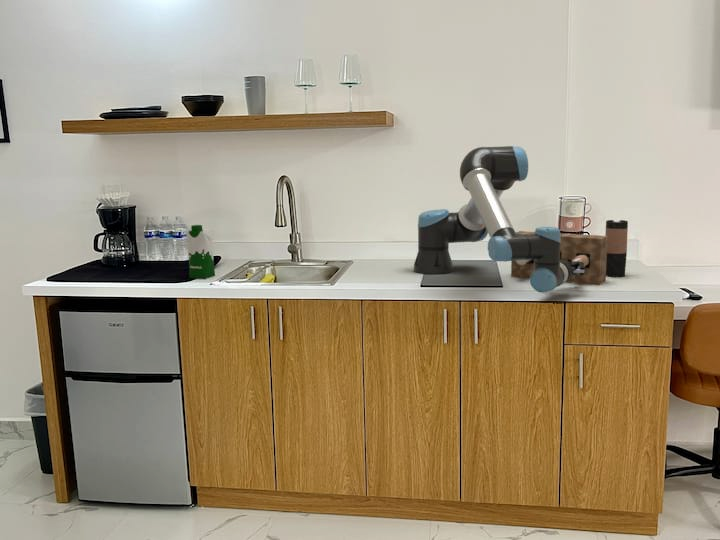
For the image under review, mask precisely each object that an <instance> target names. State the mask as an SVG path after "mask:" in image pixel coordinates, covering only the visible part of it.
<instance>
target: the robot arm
mask: <svg viewBox="0 0 720 540" xmlns="http://www.w3.org/2000/svg"><path fill="white" fill-rule="evenodd" d="M528 158H529V157H528V154H527V153H526V150H525V149H524V148H523V147H521V146H515V145H509V146H508V145H507V146H479V147H476V148H473V149H472V150H470V151H469V152H468V153H467V154H466V155H465V156H464V158H463V159H462V162H461V163H460V167H459V178H460V182H461V184H462V186H463V188H464V189H465V191H468V193H469V194H470V196H471V197H470V199H469V201H468V203H467V204H464V205H462V207H460V208H459V210H458V212H457V211H456V212H450V211H449V210H448V209H446V208H441V209H431V210H427V211H424V212H422V213H420V214H419V215H418V220H417V221H418V222H417V231H418V233H417V234H418V235H417V236H418V237H417V238H418V239H417V240H418V241H417V242H418V243H417V245H418V247H417V249H418V250H417V254H416V258H415V260H414V264H413V272H416V273H420V274H425V275H427V274H428V275H436V274H437V275H439V274H448V273H452V272H453V271H454V264H453V261H452V258H451V255H450V251H449V246H450V245H449V244H455V243H470V242H471V243H476V242H481V241H483V240H485V239H486V237H488V236H489V239H488V242H487V251H488V257H489V258H490V259H491V260H492V261H494V262H511V261H515V260H532V259H534V260H535V262H534V263H535V266H534V272H533V273H532V274H531V276H530V279H529V283H530V286H531V288H532V289H533V290H534V291H536V292H538V293H541V294H542V293H544V294H545V293H548V292H551V291H554V290H555V289H556V288H558V287H559V286H561V285H563V284H565V283H568V282H567V281H569V280H570V278H571V277H572V275H575V274H576V273H578V274H580V275H584V263H583V262H582V258H577V259H575V260H573V261H571V259H568V262H566V261H563V260H560V246H561V235H560V233H561V230H560V229H559V228H558V227H555V226H538V227H536V228H535V231H534V232H535V234H531V235H517V234H516V232H517V231H515V229H514V226H513V224H512V222H511V221H510V218H509V216H508V214H507V211H506V210H505V208H504V206H503V204H502V202H501V200H500V197H501V196H502V194H503V193H504V191H507V190H509V189H511V188H512V187H513V185H514V183H516V182H523V181H525V180H526V179H527V177H528V174H529V159H528Z"/></svg>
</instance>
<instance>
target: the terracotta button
mask: <svg viewBox="0 0 720 540" xmlns="http://www.w3.org/2000/svg"><path fill="white" fill-rule="evenodd" d="M577 258H582V262H583V263H584V267H585V266H586V265H588V264H590V255H589V254H582V255H579V256H577V257H575V259H577ZM575 259H574V260H575Z"/></svg>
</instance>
